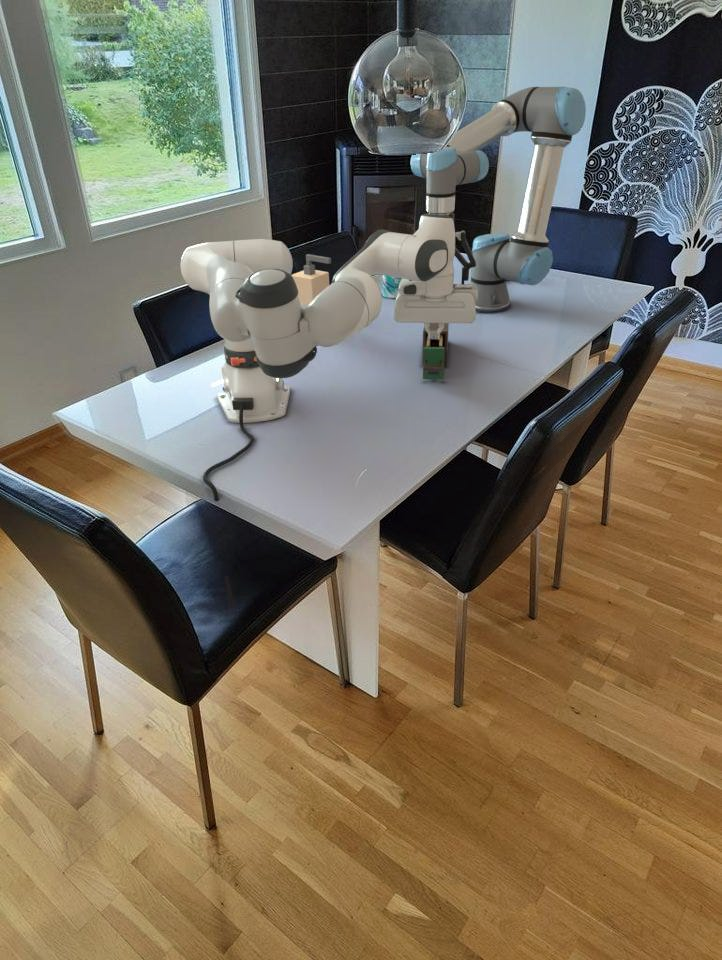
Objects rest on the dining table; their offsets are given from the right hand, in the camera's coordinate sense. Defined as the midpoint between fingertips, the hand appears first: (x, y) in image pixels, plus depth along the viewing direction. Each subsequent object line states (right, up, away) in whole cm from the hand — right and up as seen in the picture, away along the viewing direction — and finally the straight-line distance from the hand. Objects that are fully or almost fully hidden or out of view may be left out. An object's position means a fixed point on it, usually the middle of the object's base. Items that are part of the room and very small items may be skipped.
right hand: (438, 292), depth 189 cm
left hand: (-3, -17, -20) cm, 27 cm away
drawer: (-2, -23, -7) cm, 24 cm away
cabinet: (0, -17, +5) cm, 17 cm away
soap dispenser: (-36, -3, +28) cm, 45 cm away
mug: (-8, +13, +51) cm, 53 cm away
